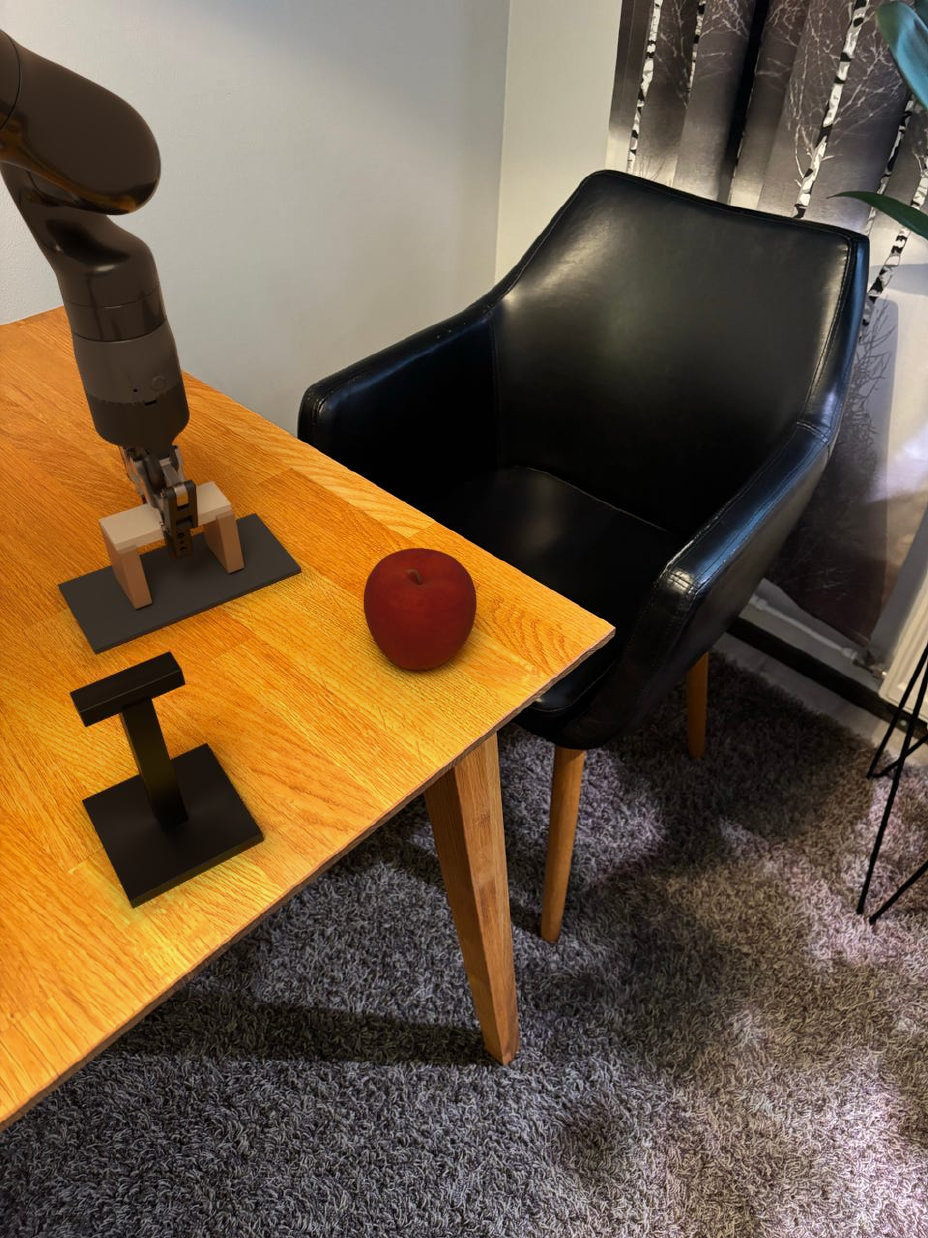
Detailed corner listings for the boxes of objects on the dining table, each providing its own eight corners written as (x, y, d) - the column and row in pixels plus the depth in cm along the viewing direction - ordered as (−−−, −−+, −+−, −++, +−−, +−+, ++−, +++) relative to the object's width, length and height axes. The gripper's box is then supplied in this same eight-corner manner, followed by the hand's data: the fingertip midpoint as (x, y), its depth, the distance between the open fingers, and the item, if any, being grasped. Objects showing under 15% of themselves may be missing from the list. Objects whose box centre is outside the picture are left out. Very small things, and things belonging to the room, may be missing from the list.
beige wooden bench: (135, 609, 87) (117, 548, 82) (115, 576, 90) (96, 515, 85) (244, 567, 91) (233, 506, 86) (221, 537, 94) (209, 477, 89)
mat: (95, 654, 84) (93, 650, 84) (59, 589, 90) (57, 584, 89) (301, 572, 92) (301, 567, 92) (256, 517, 98) (255, 512, 98)
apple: (426, 599, 90) (426, 514, 83) (497, 655, 85) (503, 570, 78) (345, 647, 85) (337, 561, 78) (415, 710, 81) (414, 624, 74)
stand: (132, 909, 67) (72, 769, 56) (84, 807, 73) (21, 663, 62) (264, 840, 71) (233, 698, 60) (209, 750, 77) (171, 604, 66)
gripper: (54, 346, 78) (104, 514, 90) (116, 430, 70) (162, 602, 82) (144, 323, 81) (180, 488, 93) (213, 400, 73) (244, 570, 85)
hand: (172, 540), depth 88 cm, fingers closed on beige wooden bench, 4 cm apart
